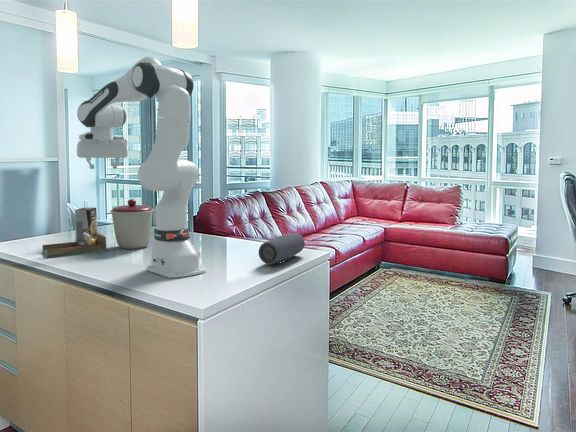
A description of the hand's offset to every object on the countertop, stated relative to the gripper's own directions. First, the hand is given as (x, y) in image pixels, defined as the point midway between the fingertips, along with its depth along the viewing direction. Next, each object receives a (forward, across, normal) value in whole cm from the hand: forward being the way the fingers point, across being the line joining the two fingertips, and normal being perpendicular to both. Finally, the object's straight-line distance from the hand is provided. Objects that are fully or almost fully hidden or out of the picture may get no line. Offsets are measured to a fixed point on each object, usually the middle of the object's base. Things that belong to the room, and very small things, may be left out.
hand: (103, 168), depth 190 cm
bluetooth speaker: (+34, -49, +65) cm, 88 cm away
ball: (+31, +8, +4) cm, 32 cm away
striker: (+33, +12, +4) cm, 35 cm away
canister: (+34, -9, +8) cm, 36 cm away
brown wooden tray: (+34, +14, +4) cm, 37 cm away
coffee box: (+34, +6, -10) cm, 36 cm away
